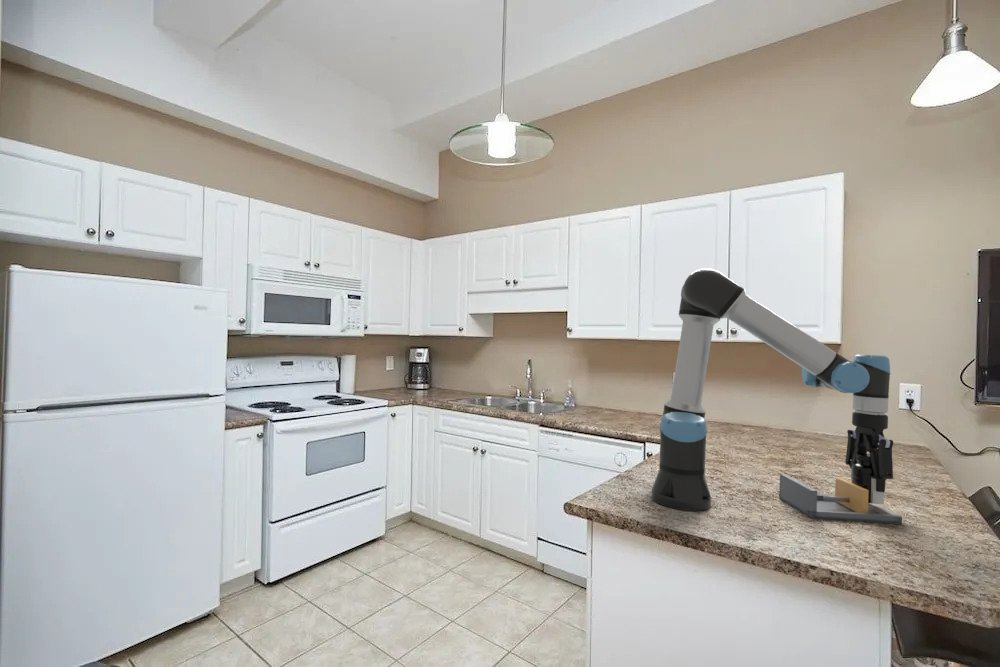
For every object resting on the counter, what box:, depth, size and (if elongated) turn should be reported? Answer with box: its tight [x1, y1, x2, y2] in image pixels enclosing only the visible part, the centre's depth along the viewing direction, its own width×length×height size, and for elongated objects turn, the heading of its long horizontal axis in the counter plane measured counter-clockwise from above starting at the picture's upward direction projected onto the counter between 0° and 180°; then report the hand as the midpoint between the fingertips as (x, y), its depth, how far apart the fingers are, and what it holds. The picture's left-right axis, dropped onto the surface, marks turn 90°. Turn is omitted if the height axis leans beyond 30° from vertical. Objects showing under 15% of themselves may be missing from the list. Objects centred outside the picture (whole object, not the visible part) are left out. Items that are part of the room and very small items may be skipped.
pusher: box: [823, 477, 869, 513], centre depth 125 cm, size 8×11×6 cm
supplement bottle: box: [850, 453, 874, 503], centre depth 125 cm, size 7×7×12 cm
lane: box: [778, 473, 903, 525], centre depth 125 cm, size 22×15×7 cm
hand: (866, 498), depth 125 cm, fingers closed on supplement bottle, 7 cm apart
